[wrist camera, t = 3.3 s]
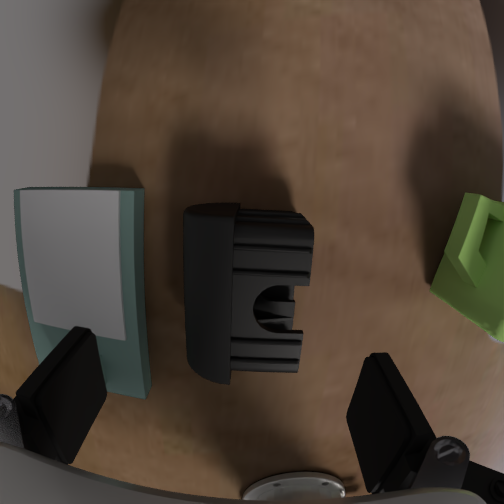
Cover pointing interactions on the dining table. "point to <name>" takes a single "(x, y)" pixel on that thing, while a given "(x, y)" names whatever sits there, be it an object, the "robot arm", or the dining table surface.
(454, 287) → the gearbox
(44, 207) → the press frame
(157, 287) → the dining table surface
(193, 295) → the end cap
